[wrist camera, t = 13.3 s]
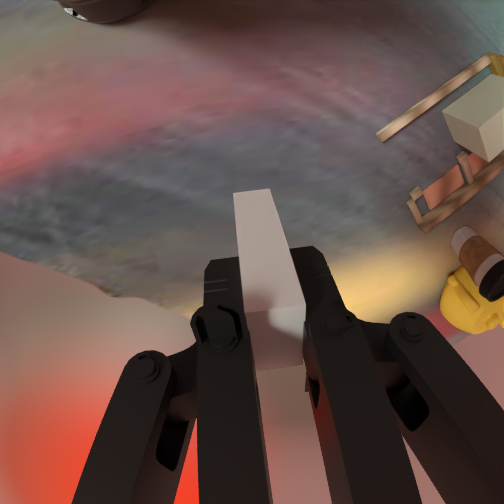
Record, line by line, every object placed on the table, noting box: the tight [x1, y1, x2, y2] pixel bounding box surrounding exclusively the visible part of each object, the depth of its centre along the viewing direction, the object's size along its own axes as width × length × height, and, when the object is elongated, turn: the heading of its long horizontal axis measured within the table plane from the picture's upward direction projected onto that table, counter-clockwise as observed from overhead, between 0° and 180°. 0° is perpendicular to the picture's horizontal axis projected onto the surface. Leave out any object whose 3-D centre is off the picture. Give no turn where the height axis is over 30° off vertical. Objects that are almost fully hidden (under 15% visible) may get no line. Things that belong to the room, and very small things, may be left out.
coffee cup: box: [450, 226, 504, 302], centre depth 46 cm, size 8×8×15 cm
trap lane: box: [376, 53, 504, 234], centre depth 38 cm, size 28×20×4 cm
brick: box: [442, 74, 504, 162], centre depth 33 cm, size 14×6×9 cm, turn 130°
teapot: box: [440, 265, 504, 334], centre depth 56 cm, size 25×18×14 cm
